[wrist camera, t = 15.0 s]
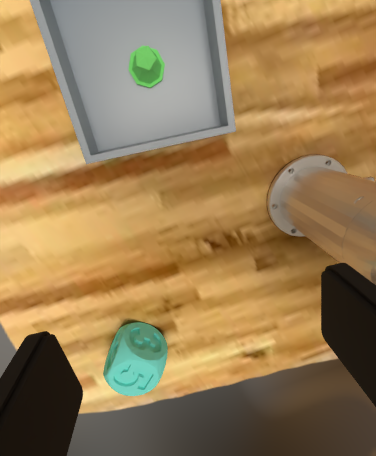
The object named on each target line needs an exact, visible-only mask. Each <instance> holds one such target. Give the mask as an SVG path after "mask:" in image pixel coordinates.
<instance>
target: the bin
mask: <svg viewBox="0 0 376 456" xmlns="http://www.w3.org/2000/svg"><path fill="white" fill-rule="evenodd" d="M30 2H31V5H32V8H33V11H34V14H35V17H36V20H37V23H38V25H39V28H40V31H41V34H42V37H43V40H44V43H45V46H46V49H47V51H48V54H49V57H50V60H51V63H52V66H53V69H54V72H55V75H56V78H57V80H58V83H59V86H60V89H61V92H62V95H63V98H64V101H65V104H66V107H67V109H68V112H69V115H70V118H71V121H72V124H73V127H74V130H75V133H76V135H77V138H78V141H79V144H80V147H81V150H82V153H83V156H84V159H85V162H86V164H89V163H93V162H98V161H103V160H107V159H112V158H116V157H121V156H126V155H130V154H135V153H139V152H144V151H149V150H153V149H158V148H162V147H167V146H171V145H176V144H181V143H185V142H190V141H194V140H199V139H204V138H208V137H213V136H217V135H222V134H226V133H231V132H236V127H235V119H234V111H233V102H232V94H231V85H230V77H229V69H228V60H227V52H226V44H225V35H224V27H223V18H222V10H221V2H220V0H30ZM143 45H144V46H149V47H150V48H153V49H156V50H158V52H159V54H160V56H161V58H162V60H163V62H164V63H165V67H164V72H163V78H162V81H161V82H159V83H158V84H156V85H155V86H153V87H152V88H148V87H144V86H141V85H137V83H136V82H135V80H134V78H133V77H132V75H131V73H130V72H129V70H128V69H129V62H130V56H131V53H133V52H134V51H135V50H137V49H138V48H140V47H141V46H143Z"/></svg>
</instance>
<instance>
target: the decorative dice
mask: <svg viewBox="0 0 376 456" xmlns="http://www.w3.org/2000/svg"><path fill="white" fill-rule="evenodd" d="M166 359H167V343H166V340H165V338H164V337H163V335H162V334H161V333H160V332H159V331H158V330H157V329H156V328H155V327H153V326H151V325H149V324H146V323H141V322H135V323H130V324H127V325H124V326H122V327H121V328H120V329H119V330H118V332H117V334H116V336H115V338H114V340H113V342H112V345H111V347H110V350H109V353H108V356H107V359H106V362H105V366H104V373H103V375H104V378H105V380H106V381H107V383H108V384H109V386H110V387H111V388H112V389H113V390H115V391H116V392H118V393H120V394H123V395H127V396H137V395H142V394H145V393H147V392H149V391H151V390H152V389H153V388H155V387H156V385H157V384H158V382H159V381H160V379H161V376H162V374H163V371H164V368H165V364H166Z"/></svg>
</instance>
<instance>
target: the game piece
mask: <svg viewBox="0 0 376 456" xmlns="http://www.w3.org/2000/svg"><path fill="white" fill-rule="evenodd" d="M164 67H165V63H164V62H163V60H162V58H161V56H160V54H159V52H158V50H156V49H153V48H150V47H149V46H144V45H143V46H141V47H140V48H138V49H137V50H135V51H134V52H133V53H131V56H130V62H129V69H128V70H129V72H130V73H131V75H132V77H133V78H134V80H135V82H136V83H137V85H141V86H144V87H148V88H152V87H153V86H155V85H156V84H158V83H159V82H161V81H162V78H163V72H164Z"/></svg>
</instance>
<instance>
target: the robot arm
mask: <svg viewBox="0 0 376 456" xmlns="http://www.w3.org/2000/svg"><path fill="white" fill-rule="evenodd" d="M289 169H290V171H289V172H288V170H289ZM273 204H274V205H273ZM272 205H273V206H272ZM267 207H268V212H269V215H270V217H271V219H272V221H273V222H274V224H275V225H276V226H277V227H278V228H279V229H280V230H282V231H283V232H285V233H287V234H289V235H292V236H299V237H303V236H306V237H307V238H309V239H310V240H311V241H313V242H314V243H315V244H316V245H318V246H319V247H320V248H322V249H323V250H324V251H325V252H327V253H328V254H329V255H331V256H332V257H333V258H334V259H336V260H337V261H338V262H340V263H339V264H335V265H330V266H327V267H326V269H325V271H324V272H322V275H321V330H322V335H323V337H324V339H325V341H326V342H327V344H328V345H329V346H330V347H331V349H332V350H333V351H334V353H335V354H336V355H337V357H338V358H339V359H340V361H341V362H342V363H343V365H344V366H345V367H346V368H347V370H348V371H349V372H350V374H351V375H352V376H353V378H354V379H355V380H356V381H357V383H358V384H359V386H360V387H361V388H362V389H363V391H364V392H365V393H366V394H367V396H368V397H369V399H370V400H371V401H372V403H373V404H374V405H375V407H376V182H375V181H374V178H373V177H366V178H361V177H357V176H354V175H350V174H347V172H346V170H345V168H344V167H343V166H342V165H341V164H340V163H339V162H338V161H336V160H335V159H333V158H331V157H327V156H324V155H307V156H302V157H300V158H298V159H295V160H293V161H292V162H290V163H289V164H287V165H286V166H285V167H284V168H283V169H282V170H281V171H280V172H279V173H278V174H277V176H276V177H275V179H274V181H273V182H272V184H271V187H270V190H269V192H268V199H267ZM82 397H83V390H82V386H81V384H80V382H79V381H78V379H77V377H76V375H75V373H74V371H73V369H72V367H71V365H70V363H69V361H68V360H67V358H66V356H65V354H64V352H63V350H62V348H61V346H60V344H59V342H58V340H57V339H56V337H55V335H53V334H51V335H50V333H49V332H47V331H44V332H40V333H36V334H31V335H28V336H27V337H26V338H25V339H24V341H23V342H22V344H21V346H20V347H19V349H18V350H17V352H16V354H15V355H14V357H13V359H12V360H11V362H10V363H9V365H8V367H7V368H6V370H5V372H4V373H3V375H2V376H1V378H0V456H67V452H68V448H69V444H70V441H71V438H72V434H73V430H74V427H75V423H76V419H77V416H78V412H79V409H80V405H81V401H82Z"/></svg>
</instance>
